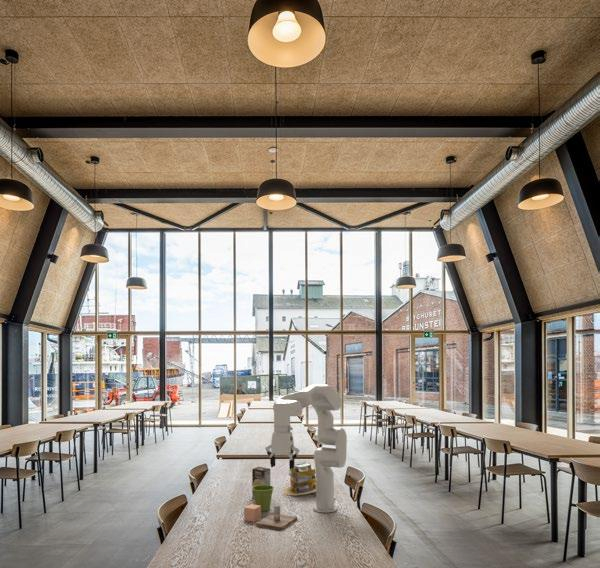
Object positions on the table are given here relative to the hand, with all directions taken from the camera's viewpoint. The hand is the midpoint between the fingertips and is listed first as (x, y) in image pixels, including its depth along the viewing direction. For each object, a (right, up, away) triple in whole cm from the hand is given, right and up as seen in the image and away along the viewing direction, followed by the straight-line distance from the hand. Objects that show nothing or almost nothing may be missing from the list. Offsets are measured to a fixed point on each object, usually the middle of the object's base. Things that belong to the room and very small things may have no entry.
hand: (282, 467), depth 229 cm
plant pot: (-12, -36, +36) cm, 52 cm away
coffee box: (-14, -39, +57) cm, 70 cm away
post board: (-3, -33, +15) cm, 36 cm away
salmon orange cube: (-16, -34, +21) cm, 43 cm away
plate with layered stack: (+11, -40, +69) cm, 80 cm away
